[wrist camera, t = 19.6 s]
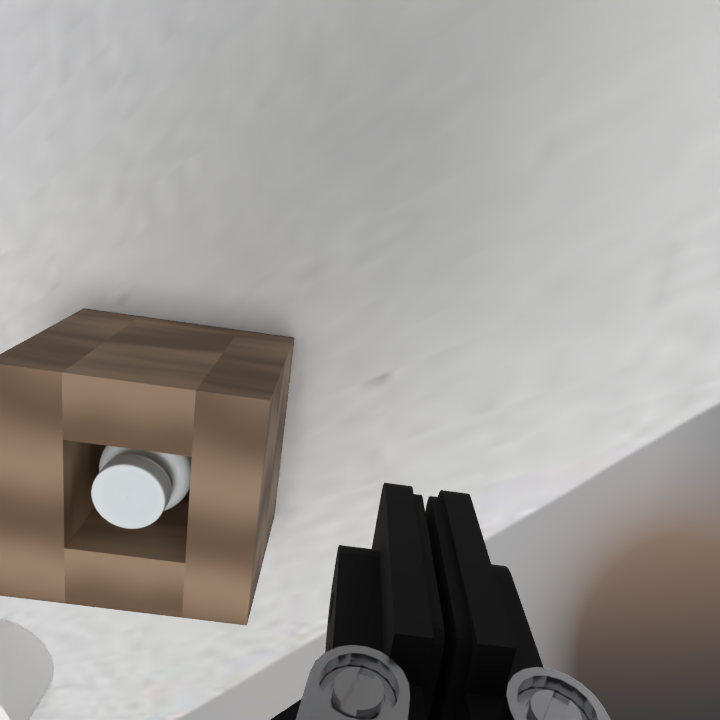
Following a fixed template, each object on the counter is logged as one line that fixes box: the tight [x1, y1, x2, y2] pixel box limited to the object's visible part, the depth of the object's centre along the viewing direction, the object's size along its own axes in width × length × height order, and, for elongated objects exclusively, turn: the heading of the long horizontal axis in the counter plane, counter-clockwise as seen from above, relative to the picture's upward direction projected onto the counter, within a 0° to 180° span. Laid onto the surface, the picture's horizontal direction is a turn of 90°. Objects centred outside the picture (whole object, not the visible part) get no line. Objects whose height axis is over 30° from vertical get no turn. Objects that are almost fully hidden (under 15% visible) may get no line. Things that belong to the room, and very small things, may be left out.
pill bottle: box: [91, 446, 192, 529], centre depth 37 cm, size 5×5×10 cm
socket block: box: [0, 309, 294, 625], centre depth 38 cm, size 14×14×11 cm
